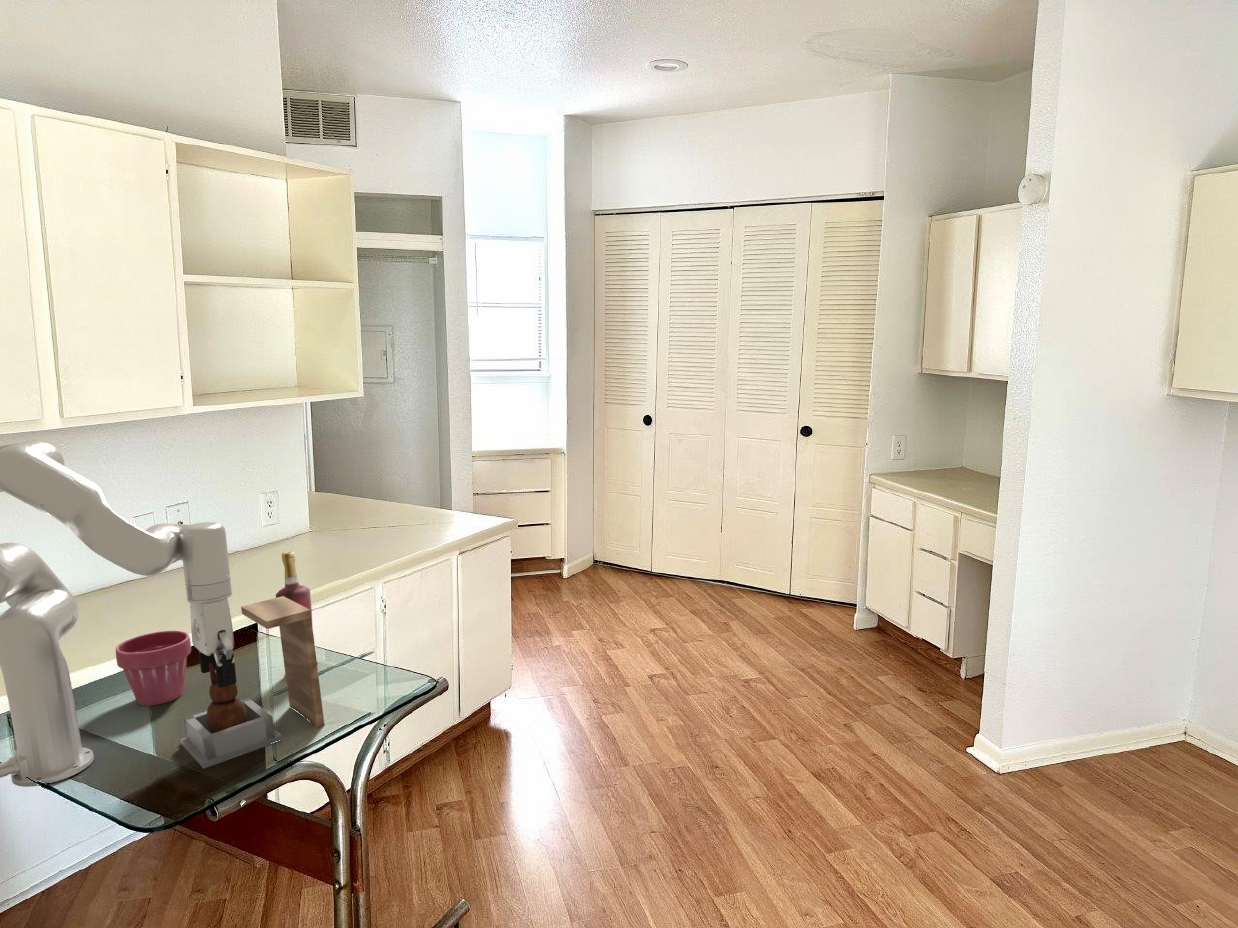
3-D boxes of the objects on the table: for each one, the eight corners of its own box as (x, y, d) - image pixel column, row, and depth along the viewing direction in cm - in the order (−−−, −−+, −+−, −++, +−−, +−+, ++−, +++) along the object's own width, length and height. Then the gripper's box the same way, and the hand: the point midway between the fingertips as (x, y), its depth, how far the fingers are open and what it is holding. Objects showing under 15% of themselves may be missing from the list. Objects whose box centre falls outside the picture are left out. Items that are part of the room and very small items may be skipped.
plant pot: (210, 682, 192) (202, 628, 190) (172, 710, 178) (163, 652, 176) (151, 684, 193) (142, 630, 191) (108, 711, 179) (99, 653, 177)
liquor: (324, 664, 199) (310, 548, 194) (312, 676, 191) (297, 556, 187) (293, 666, 199) (278, 549, 195) (280, 678, 192) (264, 558, 187)
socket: (203, 768, 152) (199, 742, 151) (181, 743, 162) (177, 719, 161) (282, 740, 161) (278, 715, 160) (256, 718, 171) (252, 695, 171)
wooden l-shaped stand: (282, 740, 161) (266, 621, 157) (256, 718, 171) (240, 606, 168) (324, 725, 166) (310, 609, 163) (296, 704, 177) (283, 596, 173)
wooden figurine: (203, 741, 160) (193, 666, 158) (227, 728, 165) (217, 654, 163) (231, 746, 158) (221, 669, 155) (254, 732, 163) (245, 657, 161)
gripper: (173, 585, 161) (183, 671, 163) (201, 604, 148) (211, 697, 151) (215, 576, 166) (224, 660, 168) (246, 594, 153) (255, 684, 155)
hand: (218, 677), depth 159 cm, fingers open, 9 cm apart
